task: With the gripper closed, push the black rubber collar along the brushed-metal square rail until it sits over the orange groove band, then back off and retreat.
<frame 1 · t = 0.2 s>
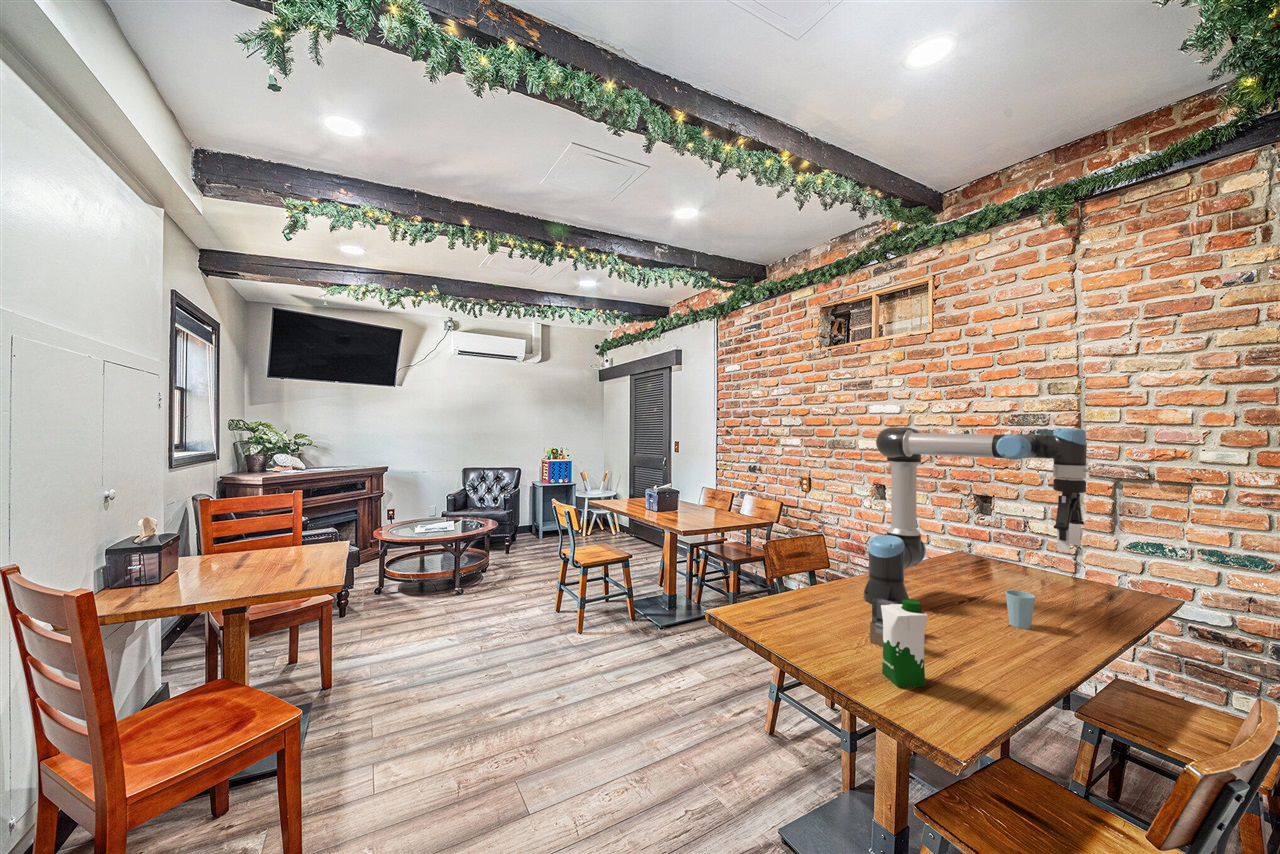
hand: (1068, 548, 147), 28 cm above the table, fingers open, 13 cm apart
collar: (886, 620, 144), point 6 cm above the table, slide at 0.0 cm
cup: (1019, 626, 157), on the table
milk carton: (902, 680, 122), on the table
rail: (894, 638, 147), on the table
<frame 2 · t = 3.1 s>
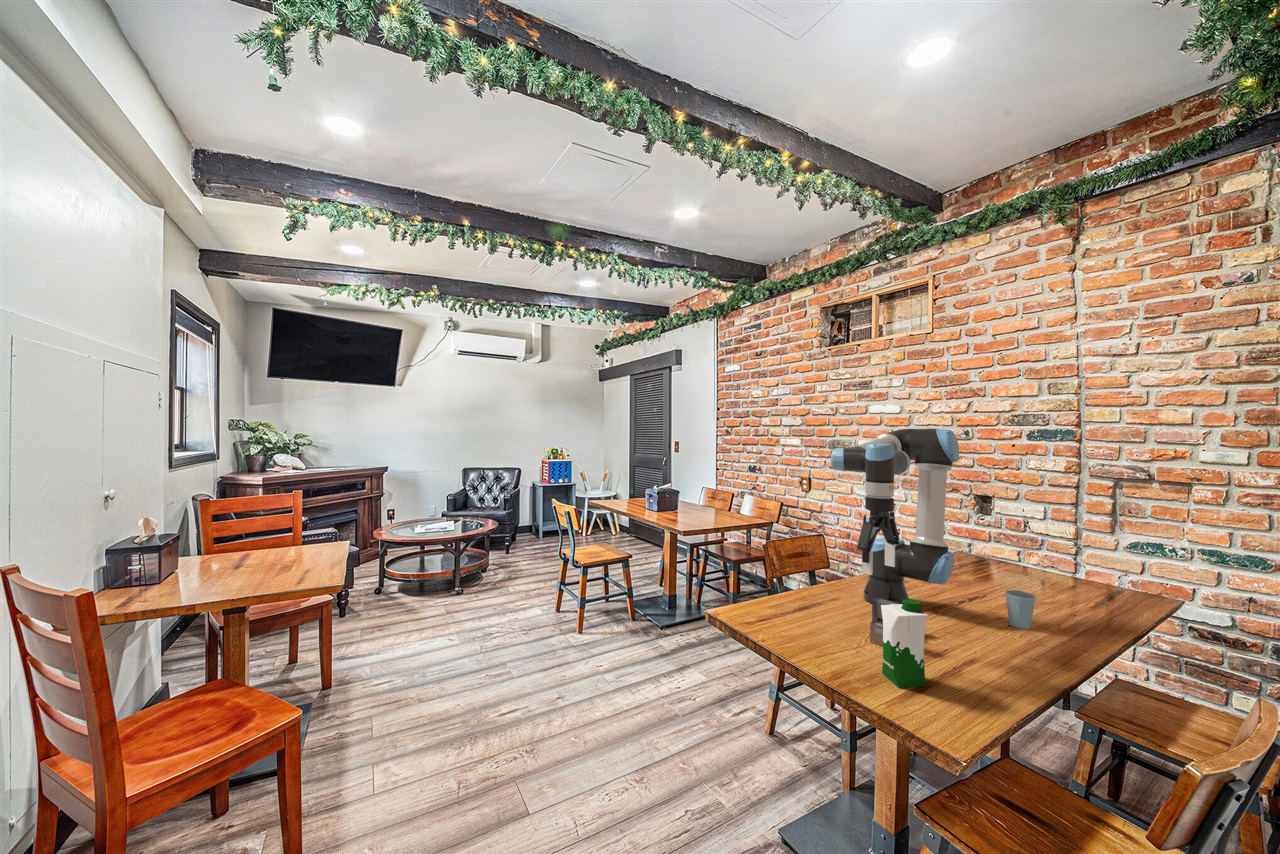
hand: (878, 569, 139), 23 cm above the table, fingers open, 13 cm apart
nothing on the table moved.
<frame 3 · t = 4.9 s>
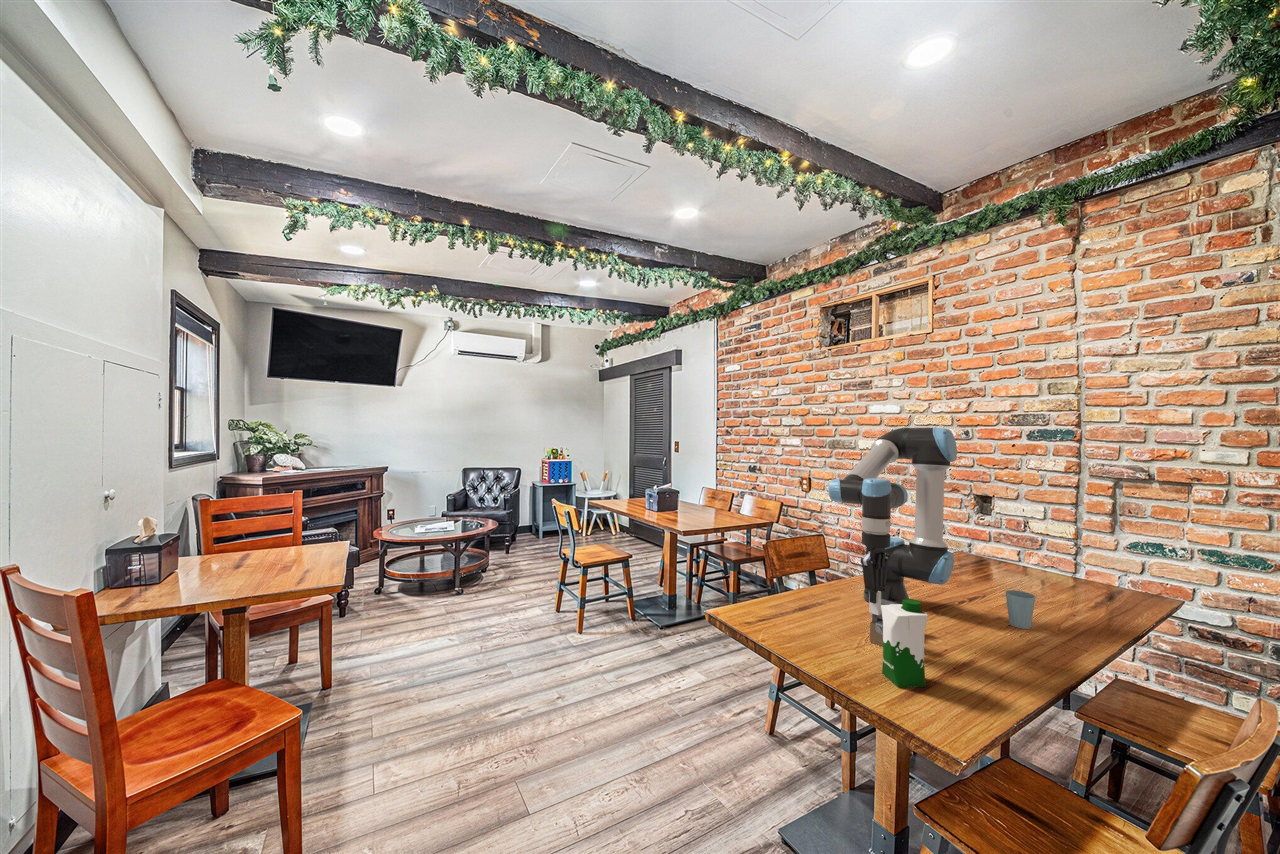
hand: (874, 613, 139), 10 cm above the table, fingers closed
nothing on the table moved.
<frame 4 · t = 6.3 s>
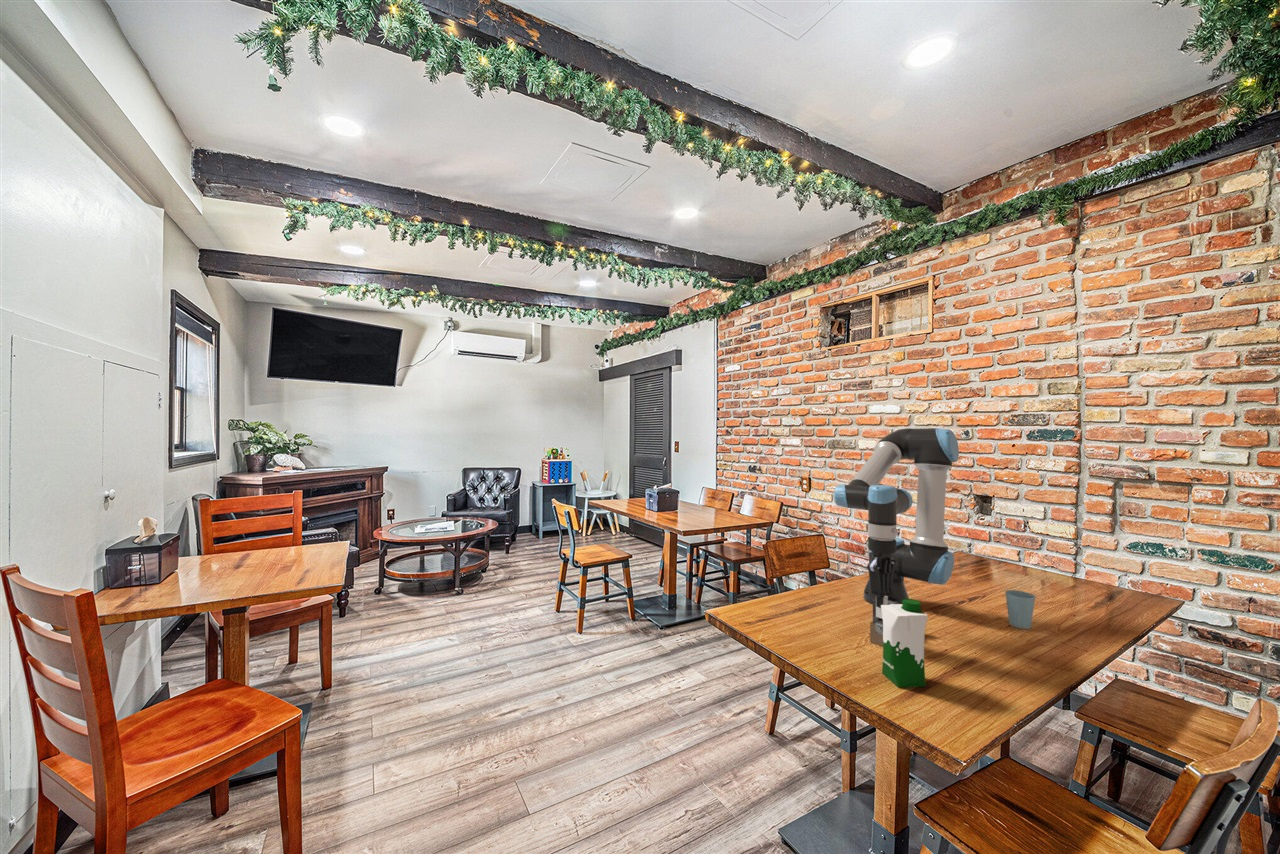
hand: (881, 617, 142), 8 cm above the table, fingers closed
collar: (887, 620, 144), point 6 cm above the table, slide at 0.4 cm, touching gripper
everything else where it was.
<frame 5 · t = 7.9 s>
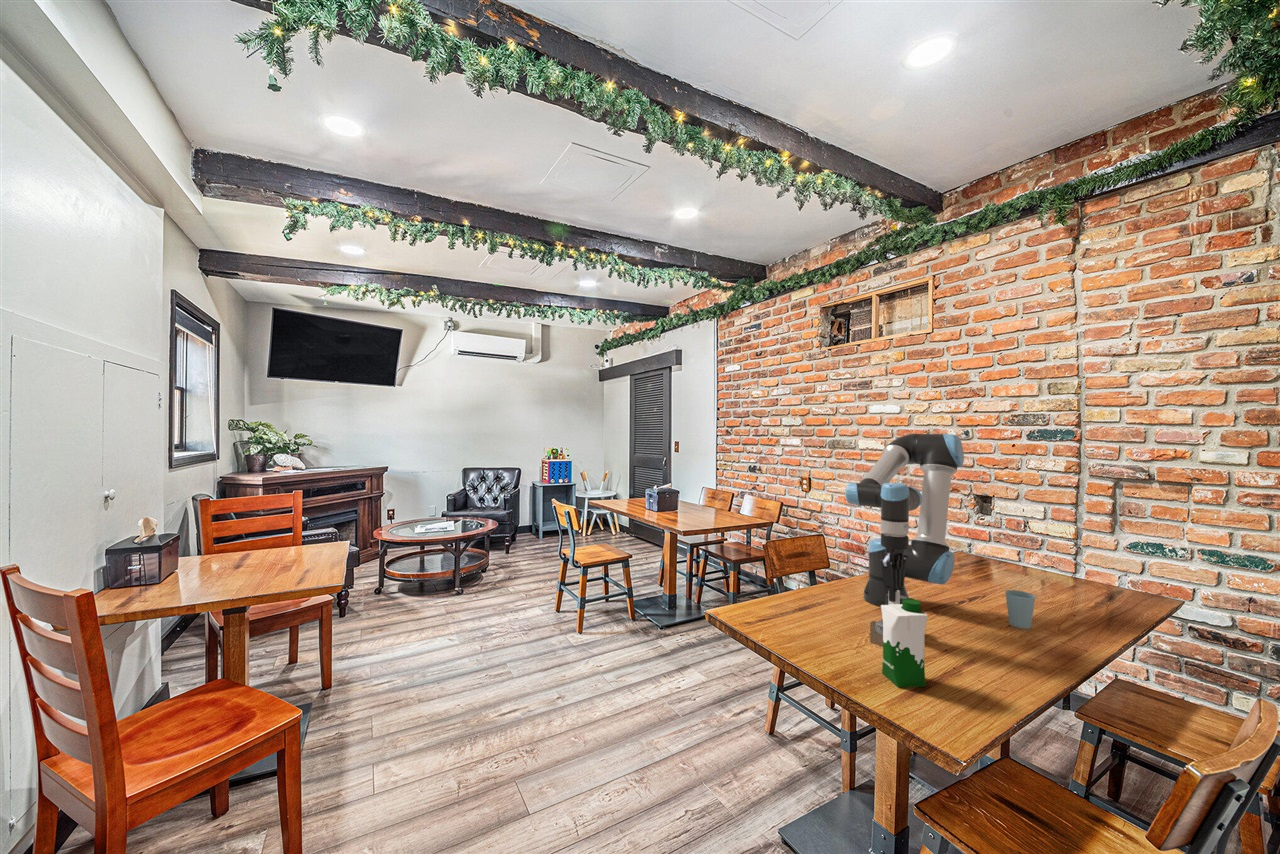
hand: (894, 611, 146), 8 cm above the table, fingers closed
collar: (899, 614, 148), point 6 cm above the table, slide at 8.1 cm, touching gripper
everything else where it was.
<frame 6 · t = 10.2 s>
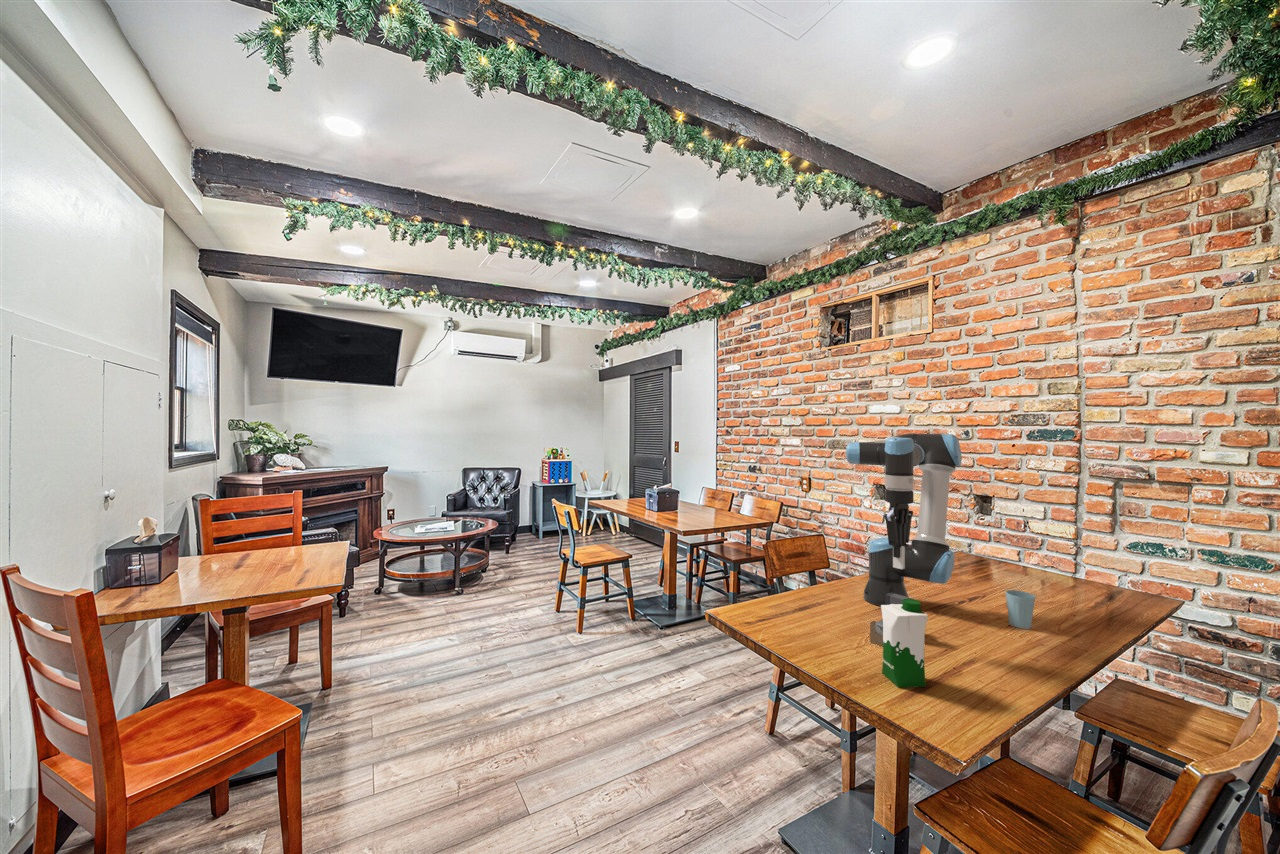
hand: (898, 567, 144), 22 cm above the table, fingers closed
collar: (899, 614, 149), point 6 cm above the table, slide at 8.2 cm
everything else where it was.
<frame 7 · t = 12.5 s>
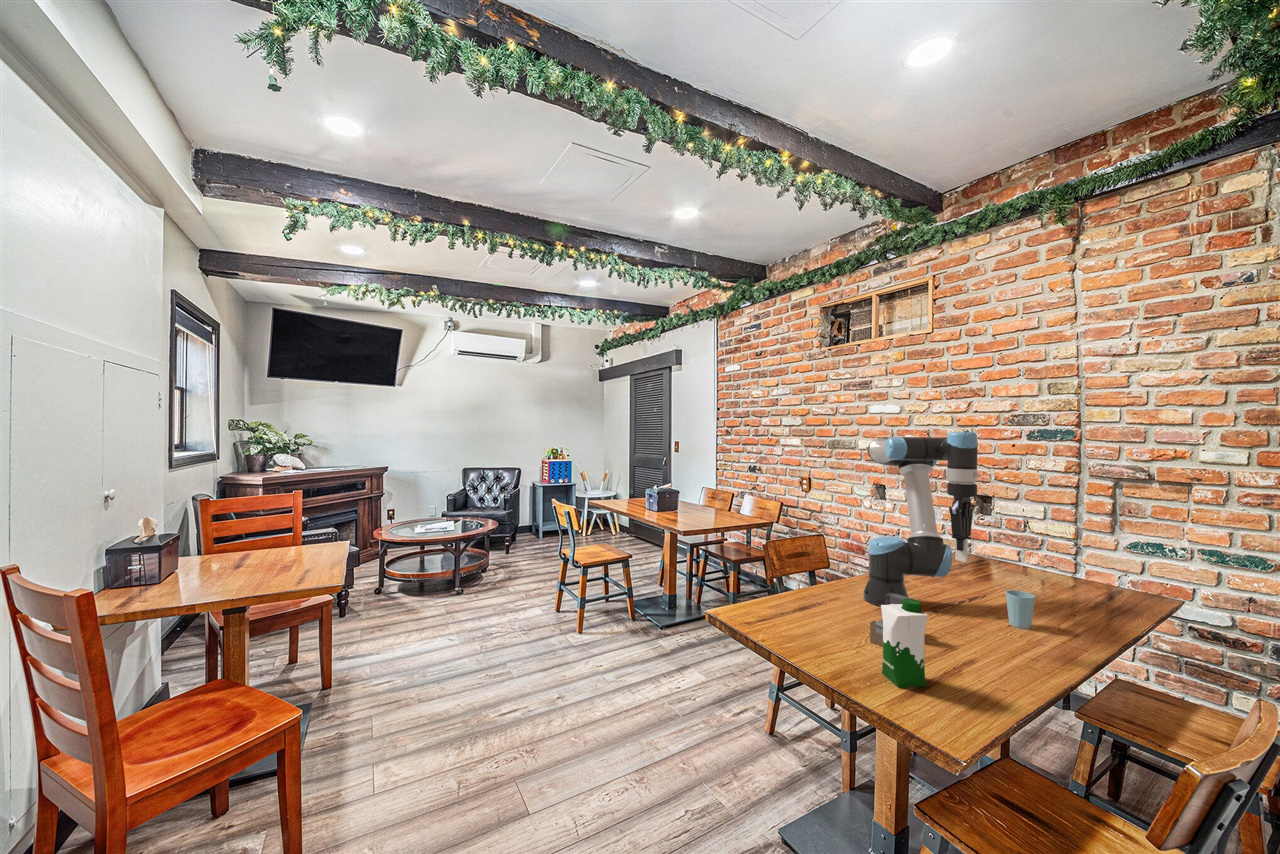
hand: (961, 560, 145), 24 cm above the table, fingers closed
nothing on the table moved.
at the end: collar slide at 8.2 cm; the gripper is holding nothing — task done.
